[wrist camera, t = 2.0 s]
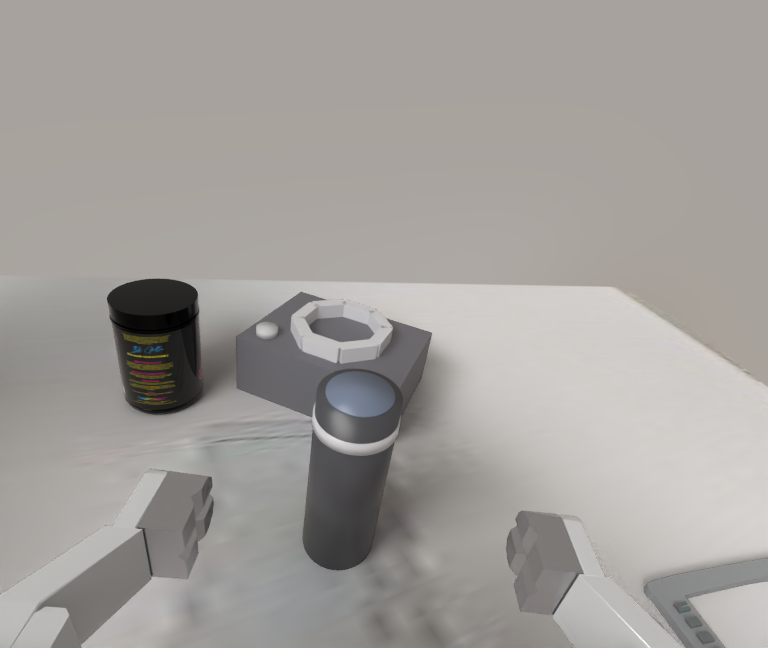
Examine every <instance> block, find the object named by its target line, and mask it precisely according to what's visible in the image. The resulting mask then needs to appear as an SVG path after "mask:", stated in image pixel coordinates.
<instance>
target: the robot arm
mask: <svg viewBox="0 0 768 648" xmlns="http://www.w3.org/2000/svg"><path fill="white" fill-rule="evenodd" d="M211 488H212V477H208V476H201V475H194V474H187V473H179V472H172V471H164V470H156V469H150V470H149V471H147V472H146V473H145V474H144V476H143V477H142V479H141V480H140V482H139V484H138V485H137V487H136V488H135V490H134V492H133V493H132V495H131V496H130V498H129V500H128V501H127V503H126V504H125V506H124V508H123V509H122V511H121V512H120V514H119V516H118V517H117V519H116V520H115V522H114V524H113V525H112V526H109V525H105V526H104V527H102V528H101V529H99V530H98V531H96V532H95V533H93V534H92V535H90V536H89V537H87V538H86V539H84V540H83V541H81V542H80V543H78V544H77V545H75V546H74V547H72V548H71V549H69V550H68V551H66V552H65V553H63V554H61V555H60V556H58V557H57V558H55V559H54V560H52V561H51V562H49V563H48V564H46V565H45V566H43V567H42V568H40V569H39V570H37V571H36V572H34V573H33V574H31V575H30V576H28V577H27V578H25V579H24V580H22V581H20V582H19V583H17V584H16V585H14V586H13V587H11V588H10V589H8V590H7V591H5V592H4V593H2V594H1V595H0V648H82V647H81V644H83V643H84V642H85V641H86V640H87V639H88V638H89V637H90V636H91V635H92V634H93V633H94V632H95V631H96V630H98V629H99V628H100V627H101V626H102V625H103V624H104V623H105V622H106V621H107V620H108V619H109V618H110V617H111V616H112V615H114V614H115V613H116V612H117V611H118V610H119V609H120V608H121V607H122V606H123V605H124V604H125V603H126V602H127V601H129V600H130V599H131V598H132V597H133V596H134V595H135V594H136V593H137V592H138V591H139V590H140V589H141V588H142V587H143V586H145V585H146V584H147V583H148V582H149V581H150V580H151V577H165V578H180V579H188V577H189V575H190V572H191V570H192V568H193V565H194V563H195V560H196V558H197V555H198V553H199V552H198V541H200V540H201V539H202V538H203V537H205V536H206V533H207V530H208V528H209V525H210V521H211V517H212V514H213V505H214V503H213V497H212V496H211V495H210V494H209V493H210V491H211ZM516 523H517V526H516V527H515V528H513V529H511V530H510V533H509V535H508V538H507V547H506V551H507V559H508V563H509V567H510V569H511V570H512V571H513V572H514V573H515V574H516V575H517V578H516V580H515V583H514V588H515V592H516V596H517V600H518V604H519V608H520V611H523V612H531V613H539V614H547V615H553V619H554V620H555V621H556V623H557V624H558V626H559V627H560V628H561V630H562V631H563V632H564V634H565V635H566V637H567V638H568V639H569V641H570V642H571V643H572V645H573V646H574V648H683V647H682V646H681V645H680V644H679V643H678V642H677V641H676V640H675V639H674V638H673V637H672V636H671V635H670V634H669V633H668V632H666V631H665V630H664V629H663V628H662V627H661V626H660V625H659V624H658V623H657V622H656V621H655V620H654V619H653V618H652V617H651V616H650V615H649V614H648V613H647V612H646V611H645V610H644V609H643V608H642V607H641V606H640V605H639V604H638V603H637V602H636V601H635V600H634V599H633V598H632V597H631V596H630V595H629V594H627V593H626V592H625V591H624V590H623V589H622V588H621V587H620V586H619V585H618V584H617V583H616V582H615V581H614V580H613V579H612V578H611V577H605V575H604V572H603V570H602V568H601V566H600V563H599V561H598V559H597V557H596V554H595V552H594V550H593V548H592V545H591V543H590V541H589V539H588V536H587V534H586V532H585V529H584V527H583V525H582V523H581V521H580V519H579V518H578V517H575V516H566V515H557V514H551V513H541V512H530V511H521V512H519V513H518V515H517V517H516Z"/></svg>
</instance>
